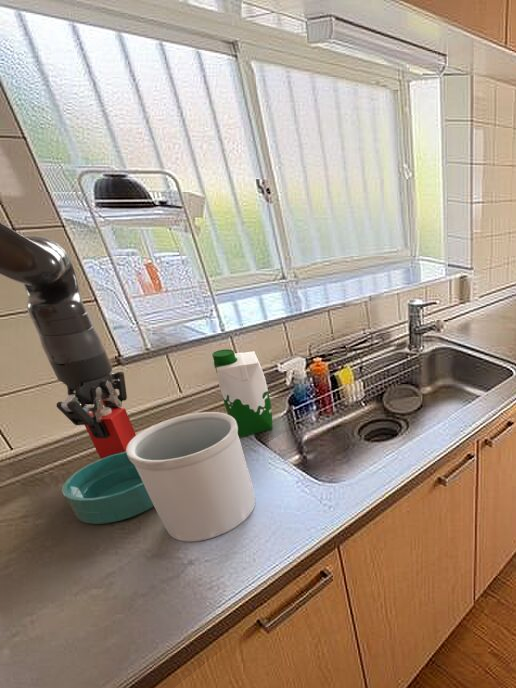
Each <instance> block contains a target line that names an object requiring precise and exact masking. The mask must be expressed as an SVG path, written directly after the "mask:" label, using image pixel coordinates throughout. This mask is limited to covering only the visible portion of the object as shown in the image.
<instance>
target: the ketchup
mask: <svg viewBox="0 0 516 688" xmlns="http://www.w3.org/2000/svg"><path fill="white" fill-rule="evenodd" d="M89 413H90V416H93V412H92V411H90V412H89ZM101 416H102V420H104V423H105V425H106V427H107V429H108V432H109V434H110V436H108V437H107V438H96V437H94V436H93V435H92V433H91V431H90V428H89V426H88V425H84V427H85V429H86V431H87V433H88V435H89V438H90V439H91V442H92V444H93V446H94V448H95V450H96V452H97V455H98V456H99V459H102V458H105V457H107V456H110V455H114V454H118V453H122V452H126V448H127V445H128V443H129V442H130V441H131V440H132V439H133V438H134V437H135V436H136V435H137V433H136V431H135V429H134V426H133V424H132V422H131V419H130V417H129V415H128V412H127V410H126V408H125V407H123V408H122V407H121V408H109V407H104V406H103V409H102V410H101Z"/></svg>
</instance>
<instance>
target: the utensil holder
mask: <svg viewBox="0 0 516 688" xmlns="http://www.w3.org/2000/svg"><path fill="white" fill-rule="evenodd" d="M126 454H127V456H128V458H129V460H130V461H131V462H132V463H133V464H134V465H135V467H136V469H137V471H138V473H139V475H140V478H141V480H142V482H143V484H144V486H145V488H146V490H147V492H148V495H149V497H150V499H151V501H152V503H153V505H154V506H153V507H154V509H155V511H156V513H157V515H158V517H159V519H160V521H161V522H162V524H163V527H164V528H165V530H166V532H167V533H168V535H169V536H170V537H171V538H173V539H174V540H177V541H181V542H200V541H206V540H210V539H213V538H215V537H218V536H221V535H224V534H226V533H227V532H230V531H232V530H233V529H234V528H236V527H237V526H239V525H240V524H242V523H243V522H244V521H245V520H246V519H247V518H248V517H249V516H250V515H251V514H252V512H253V511H254V508H255V505H256V497H255V491H254V488H253V482H252V479H251V475H250V471H249V469H248V465H247V462H246V458H245V455H244V451H243V447H242V443H241V440H240V437H239V436H238V426H237V423H236V420H235V419H234V418H233V417H232V416H230V415H228V413H224V412H217V411H204V412H195V413H190V414H183V415H179V416H176V417H172V418H169V419H165V420H163V421H161V422H158V423H156V424H153V425H151V426H149V427H147V428H145V429H143V430H141V431H140V432H138V433H136V436H135V437H134V438H133V439H132V440H131V441H130V442H129V443H128V445H127V448H126Z"/></svg>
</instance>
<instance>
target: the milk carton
mask: <svg viewBox="0 0 516 688" xmlns="http://www.w3.org/2000/svg"><path fill="white" fill-rule="evenodd" d="M212 358H213V366H214V368H215V372H216V374H217V382H218V385H219V386H218V387H219V390H220V393H221V396H222V400H223V403H224V407H225V410H226V414H228V415H230V416H232V417H233V418H234V419H235V420H236V423H237V426H238V436H239V438H242V437H247V436H251V435H255V434H260V433H264V432H268V431H271V430H273V410H272V403H271V402H272V401H271V397H270V392H269V388H268V385H267V381H266V376H265V374H264V371H263V368H262V366H261V364H260V361H259V359H258V356H257V354H256V352H255V350H253V351H252V350H251V351H247V352H246V351H245V352H236V353H235V351H234V350H233V349H228V348H227V349H219V350H216V351H214V352H213V353H212Z"/></svg>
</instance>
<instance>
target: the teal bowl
mask: <svg viewBox="0 0 516 688" xmlns="http://www.w3.org/2000/svg"><path fill="white" fill-rule="evenodd" d="M62 485H63V486H62V490H61V492H62V494H63V496H64V498H65V499H66V502H67V503H68V506H70V508H71V510H72V512H73V513H74V515H75V517H76V519H77V520H79V521H81V522H82V523H85V524H90V525H91V524H92V525H93V524H94V525H100V524H101V525H102V524H109V523H114V522H119V521H123V520H127V519H130V518H132V517H136V516H138V515H141V513H144V512H146V511H148V510H150V509H151V508H153V507H154V505H153V503H152V501H151V499H150V497H149V495H148V492H147V490H146V488H145V486H144V484H143V482H142V480H141V478H140V475H139V473H138V471H137V469H136V467H135V465H134V464H133V463H132V462H131V461H130V460H129V458H128V456H127V454H126V452H122V453H118V454H114V455H110V456H107V457H105V458H102V459H100V458H99V459H97V460H94V461H93V462H90V463H88V464H86V465H84V466H83V467H82V468H80V469H78V470H76V471H75V472H74V473H72V474H71V475H70V476H69V477H67V479H66V480H65V482H64V483H63V484H62Z"/></svg>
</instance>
